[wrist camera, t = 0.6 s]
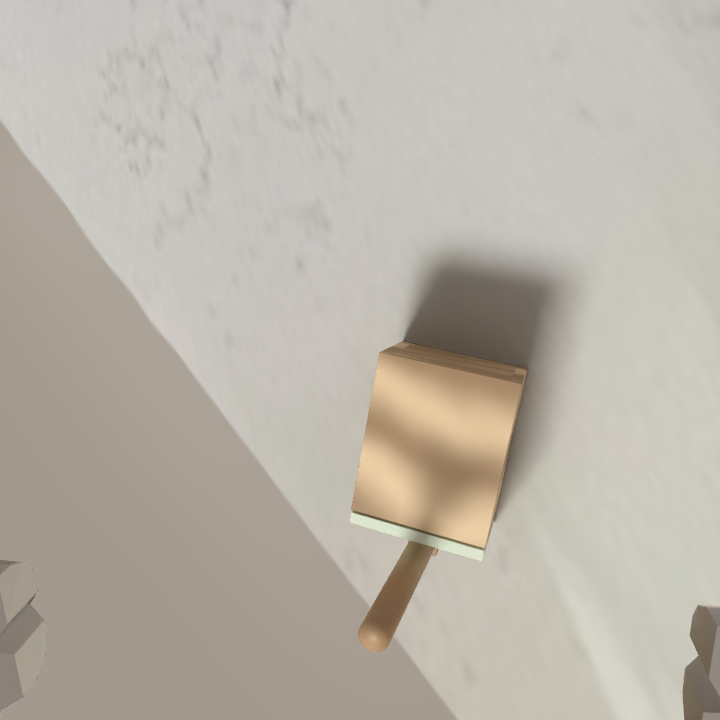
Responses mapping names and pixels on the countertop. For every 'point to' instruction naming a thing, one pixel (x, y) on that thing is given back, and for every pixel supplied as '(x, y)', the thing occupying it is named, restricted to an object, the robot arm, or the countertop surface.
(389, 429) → the tan wooden block
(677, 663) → the countertop surface
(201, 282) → the countertop surface
